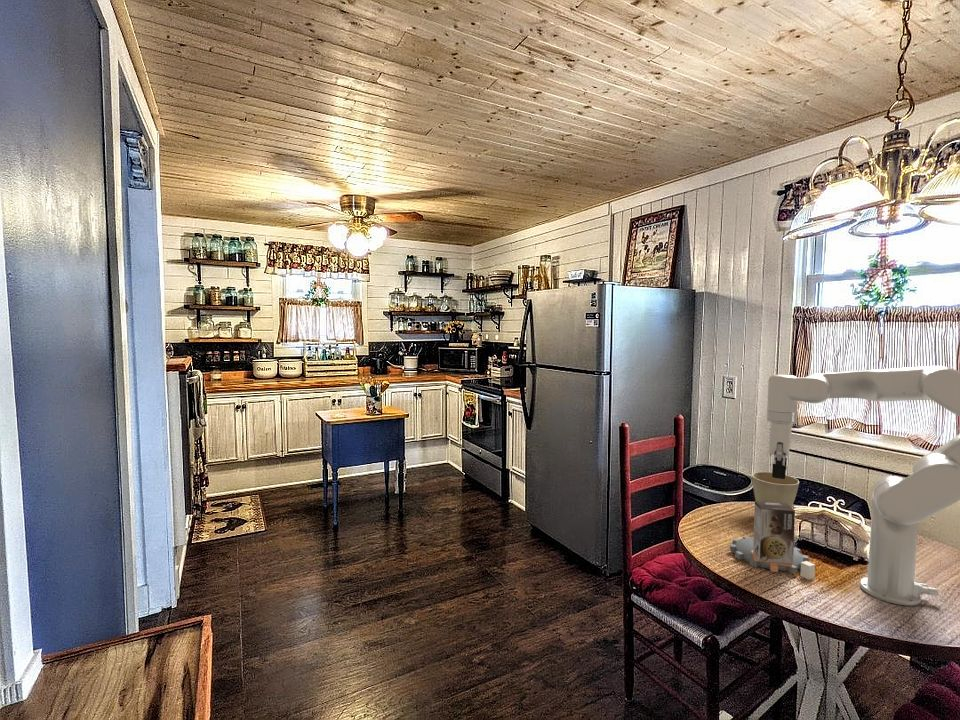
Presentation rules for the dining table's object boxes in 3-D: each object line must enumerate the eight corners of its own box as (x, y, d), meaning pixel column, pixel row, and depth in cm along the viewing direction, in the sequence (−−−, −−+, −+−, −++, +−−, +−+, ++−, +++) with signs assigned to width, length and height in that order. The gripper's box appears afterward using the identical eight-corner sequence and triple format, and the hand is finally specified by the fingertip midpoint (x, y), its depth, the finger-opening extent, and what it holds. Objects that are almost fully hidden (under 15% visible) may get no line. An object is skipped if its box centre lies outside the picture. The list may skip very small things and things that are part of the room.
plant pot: (747, 521, 178) (749, 479, 177) (752, 509, 191) (754, 469, 189) (796, 531, 170) (798, 487, 169) (797, 518, 182) (800, 476, 181)
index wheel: (798, 545, 158) (799, 528, 157) (816, 578, 137) (818, 559, 136) (726, 534, 165) (727, 518, 165) (733, 564, 145) (734, 546, 144)
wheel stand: (802, 557, 151) (803, 544, 151) (815, 581, 137) (816, 567, 137) (747, 548, 157) (748, 536, 157) (754, 570, 143) (755, 557, 143)
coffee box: (785, 554, 147) (787, 502, 146) (793, 565, 141) (796, 510, 140) (751, 551, 149) (754, 500, 148) (758, 561, 143) (761, 507, 142)
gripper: (768, 411, 152) (766, 465, 154) (765, 420, 138) (762, 479, 139) (797, 413, 148) (794, 468, 149) (796, 423, 134) (793, 484, 135)
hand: (779, 473), depth 144 cm, fingers open, 9 cm apart
